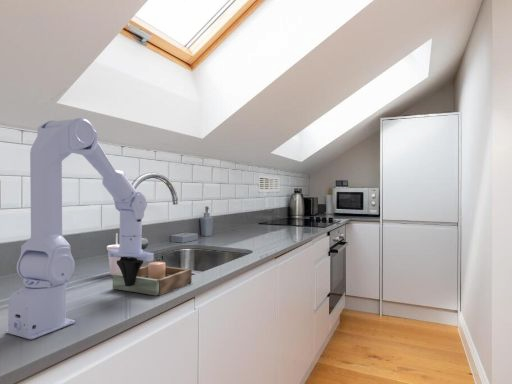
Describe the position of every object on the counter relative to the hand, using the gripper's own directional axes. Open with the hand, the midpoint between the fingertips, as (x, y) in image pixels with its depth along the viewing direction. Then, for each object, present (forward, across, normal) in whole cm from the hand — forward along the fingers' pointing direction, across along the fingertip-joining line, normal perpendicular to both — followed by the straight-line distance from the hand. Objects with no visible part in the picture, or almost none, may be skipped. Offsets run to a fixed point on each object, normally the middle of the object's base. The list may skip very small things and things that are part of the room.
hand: (129, 285), depth 93 cm
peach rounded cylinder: (+1, 0, -11) cm, 11 cm away
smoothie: (+2, +21, -16) cm, 26 cm away
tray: (+2, 0, -9) cm, 9 cm away
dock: (+2, 0, -10) cm, 10 cm away
